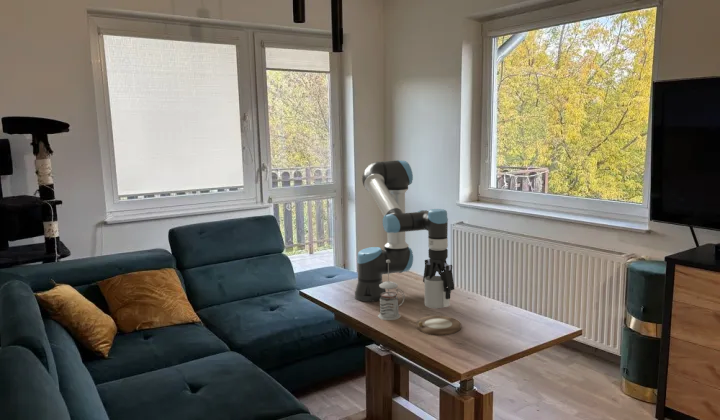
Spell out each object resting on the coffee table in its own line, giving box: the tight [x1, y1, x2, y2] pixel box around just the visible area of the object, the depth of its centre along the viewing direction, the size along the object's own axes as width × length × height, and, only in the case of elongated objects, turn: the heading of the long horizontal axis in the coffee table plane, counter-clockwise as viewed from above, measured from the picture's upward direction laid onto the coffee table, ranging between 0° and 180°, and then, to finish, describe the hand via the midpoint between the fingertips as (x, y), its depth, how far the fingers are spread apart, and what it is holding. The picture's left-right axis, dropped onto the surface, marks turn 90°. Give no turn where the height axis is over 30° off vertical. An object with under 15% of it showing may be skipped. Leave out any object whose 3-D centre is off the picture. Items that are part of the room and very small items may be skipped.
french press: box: [377, 260, 405, 321], centre depth 223 cm, size 10×12×25 cm
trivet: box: [415, 315, 462, 336], centre depth 212 cm, size 18×18×3 cm
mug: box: [423, 275, 452, 309], centre depth 209 cm, size 12×8×11 cm
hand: (438, 303), depth 210 cm, fingers closed on mug, 8 cm apart
